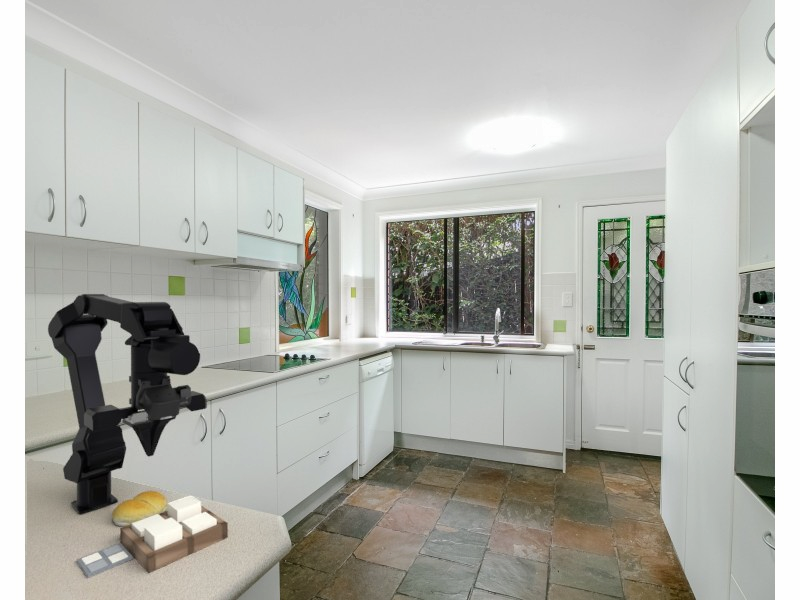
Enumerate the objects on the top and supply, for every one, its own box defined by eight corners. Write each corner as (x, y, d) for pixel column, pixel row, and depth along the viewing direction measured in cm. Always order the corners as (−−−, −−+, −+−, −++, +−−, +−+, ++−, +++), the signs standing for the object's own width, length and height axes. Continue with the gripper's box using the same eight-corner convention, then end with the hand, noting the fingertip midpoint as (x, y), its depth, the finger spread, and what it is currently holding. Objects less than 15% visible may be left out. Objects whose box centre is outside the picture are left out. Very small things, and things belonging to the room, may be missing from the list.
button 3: (167, 519, 78) (167, 503, 78) (191, 510, 81) (190, 495, 81) (177, 527, 75) (177, 510, 75) (201, 518, 78) (201, 501, 78)
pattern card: (76, 561, 68) (76, 558, 68) (120, 545, 72) (120, 542, 72) (87, 577, 64) (87, 574, 64) (132, 559, 68) (132, 555, 68)
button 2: (144, 545, 70) (144, 527, 69) (171, 534, 73) (171, 517, 73) (154, 556, 67) (154, 536, 67) (182, 544, 70) (182, 525, 70)
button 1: (131, 540, 73) (131, 523, 73) (158, 530, 76) (157, 513, 76) (140, 550, 71) (140, 532, 71) (167, 539, 74) (167, 521, 74)
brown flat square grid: (120, 542, 73) (120, 527, 73) (194, 513, 83) (194, 500, 83) (148, 573, 65) (148, 556, 65) (227, 537, 75) (227, 523, 75)
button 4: (181, 538, 74) (181, 521, 74) (205, 528, 77) (205, 511, 77) (192, 547, 71) (192, 529, 71) (216, 536, 74) (216, 519, 74)
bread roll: (102, 524, 80) (102, 502, 79) (147, 502, 88) (147, 483, 88) (133, 533, 76) (133, 511, 76) (176, 510, 85) (176, 490, 85)
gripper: (103, 384, 66) (104, 485, 66) (220, 368, 80) (220, 451, 80) (82, 375, 73) (83, 467, 73) (193, 362, 87) (193, 439, 87)
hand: (149, 455), depth 78 cm, fingers closed
